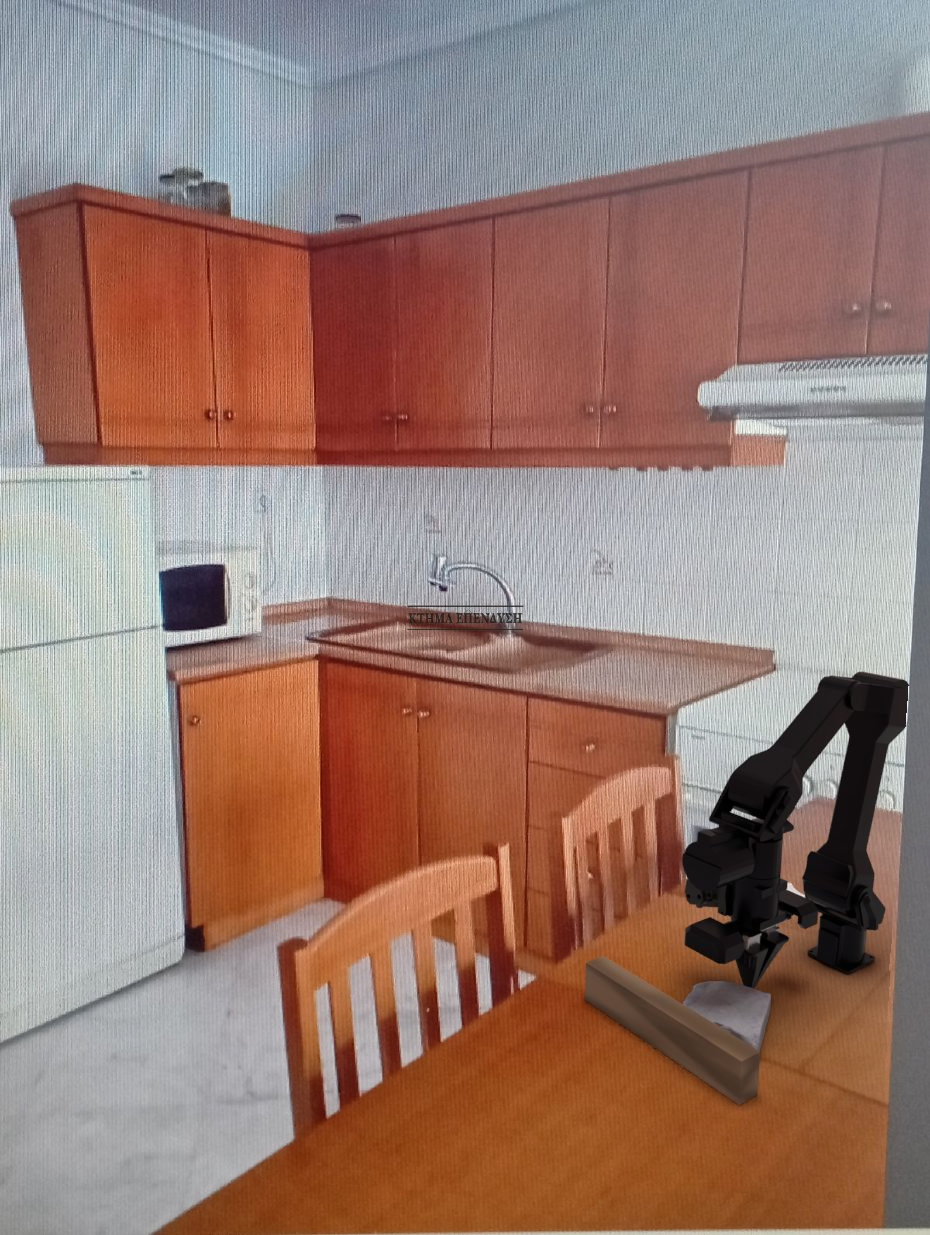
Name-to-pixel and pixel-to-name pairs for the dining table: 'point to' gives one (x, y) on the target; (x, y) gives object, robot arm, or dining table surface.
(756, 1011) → the stone block
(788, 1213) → the dining table surface
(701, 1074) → the board
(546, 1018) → the dining table surface
